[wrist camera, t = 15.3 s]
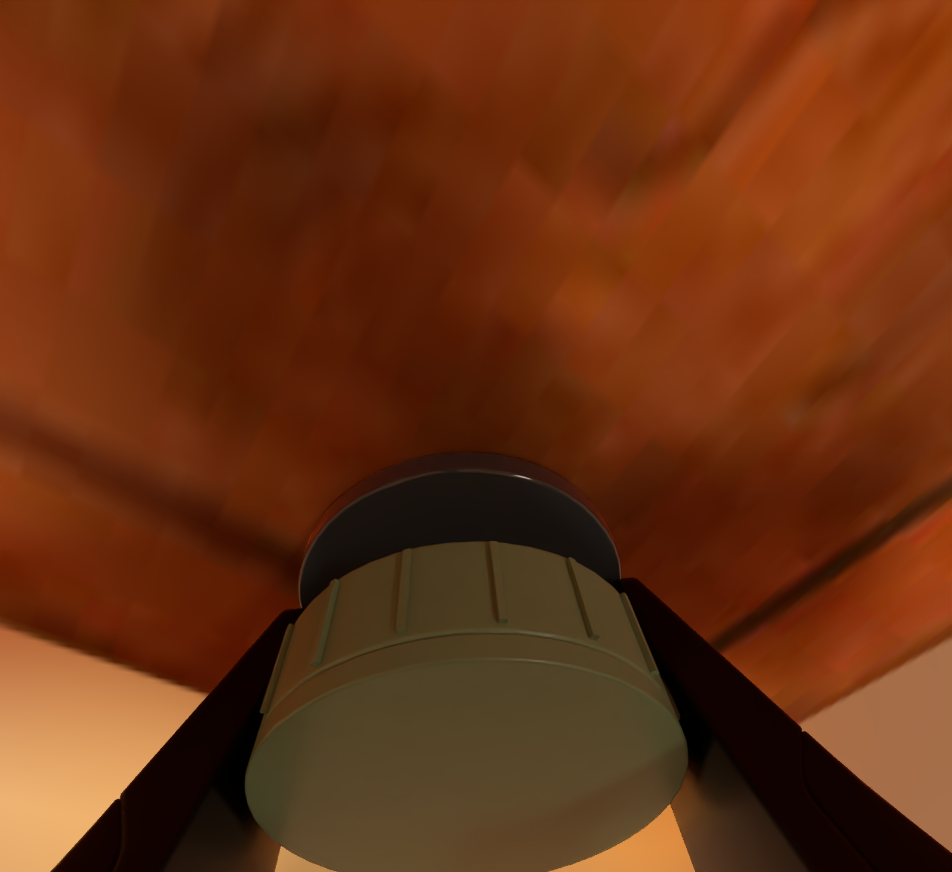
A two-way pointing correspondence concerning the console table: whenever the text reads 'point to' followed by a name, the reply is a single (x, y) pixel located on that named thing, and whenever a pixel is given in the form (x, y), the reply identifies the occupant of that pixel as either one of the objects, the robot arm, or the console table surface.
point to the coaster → (456, 516)
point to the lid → (464, 717)
